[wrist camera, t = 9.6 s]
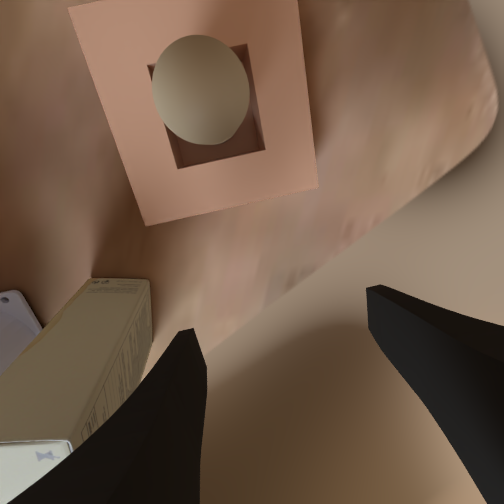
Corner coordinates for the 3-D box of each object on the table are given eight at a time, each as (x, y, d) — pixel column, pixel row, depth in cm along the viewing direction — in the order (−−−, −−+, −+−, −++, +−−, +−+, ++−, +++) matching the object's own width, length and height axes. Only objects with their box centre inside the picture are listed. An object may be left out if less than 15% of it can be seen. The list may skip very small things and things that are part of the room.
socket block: (159, 212, 19) (145, 226, 16) (100, 37, 15) (67, 7, 12) (302, 180, 19) (318, 187, 16) (277, 0, 16) (292, -40, 12)
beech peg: (194, 149, 17) (169, 153, 10) (178, 92, 16) (137, 47, 9) (244, 138, 17) (258, 133, 10) (232, 79, 16) (237, 23, 9)
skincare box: (89, 276, 20) (-80, 442, 9) (152, 277, 21) (70, 436, 9) (98, 347, 22) (-28, 553, 11) (156, 347, 23) (91, 543, 12)
